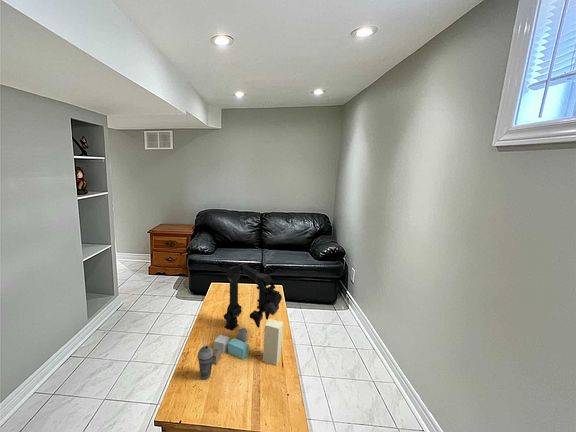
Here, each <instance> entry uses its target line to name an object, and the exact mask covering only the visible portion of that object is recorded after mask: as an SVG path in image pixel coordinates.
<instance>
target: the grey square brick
mask: <svg viewBox="0 0 576 432" xmlns="http://www.w3.org/2000/svg"><path fill="white" fill-rule="evenodd" d="M229 342H230V336H226V335H223V334H219V335H218V336H217V337H216V338H215V339H214V341H213V348H214V349H218V350H221V354H225V352H226V351H228V343H229Z"/></svg>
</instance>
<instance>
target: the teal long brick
mask: <svg viewBox="0 0 576 432" xmlns="http://www.w3.org/2000/svg"><path fill="white" fill-rule="evenodd" d="M249 350H250V344H249V343H247V342H243V341H240V340H238V338H235V337H234V338H233V339H231V340H229V343H228V349H227V353H228V354H231V355H233V356H235V357H236V358H238V359H240V360H244V359H245V358H247V356H248V355H249V353H250V351H249Z"/></svg>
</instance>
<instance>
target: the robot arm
mask: <svg viewBox="0 0 576 432" xmlns="http://www.w3.org/2000/svg"><path fill="white" fill-rule="evenodd" d="M242 274H244V275H245V276H247V277H249V278H250V279H252V280H253V281H254V283H255V284H256V287H255V288H256V289H257V290H258V299H257V300H256V301H257V303H258V305H257V306H256V309H258V310H253V311H251V312H250V313H249V318H250V319H252V320H253V321H254V323H255V325H256V327H257V328H260V326H261V320H263V319H264V317H263V316H264V315H265V320H267V321H268V320H269V319H270V318H269V317H270V315H271V316H274V315H276V314H277V312H278V311H279V309H280V303H281V301H282V298H283V297H282V294H281V293H280V291H278V290H275V289H276V286H275V284H274V281H273V279H272V276H270V275H269V274H267V273H262V272H259V271H257V270H256V269H254V268H252V267H251V266H249V265H248V264H247V263H245V262H242V263H239V264H237V265H235V266H231V267H228V268H227V269H226V278H227V280H228V281H229V304H228V306H227V308H226V313H224V314H223V319H224V320H225V325H224V327H223V328H225V329H228V330H230V331H233V330H235V329H236V328H238V326H239V324H238V317H240V315H241V313H242V312H243V311H242V305H240V304H239V281H240V278H241V275H242Z"/></svg>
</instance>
